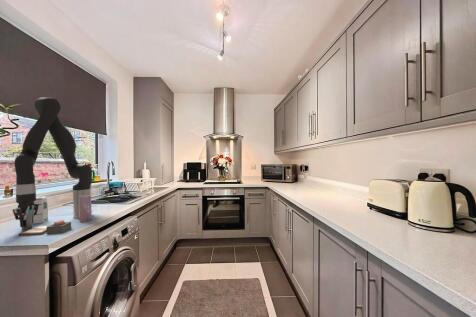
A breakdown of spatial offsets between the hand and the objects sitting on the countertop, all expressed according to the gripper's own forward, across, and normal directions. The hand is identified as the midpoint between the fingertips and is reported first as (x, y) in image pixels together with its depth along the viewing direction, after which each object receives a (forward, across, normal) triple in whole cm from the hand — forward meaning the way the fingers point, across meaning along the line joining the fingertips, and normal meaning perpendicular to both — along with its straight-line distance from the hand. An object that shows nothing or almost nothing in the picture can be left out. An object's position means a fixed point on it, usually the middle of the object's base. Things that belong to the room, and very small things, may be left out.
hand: (26, 225), depth 114 cm
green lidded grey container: (+2, 0, 0) cm, 2 cm away
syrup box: (+2, -16, -5) cm, 17 cm away
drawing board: (+2, +4, +8) cm, 10 cm away
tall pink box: (+2, -12, +22) cm, 25 cm away
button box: (+2, +6, +19) cm, 20 cm away
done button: (-1, +6, +19) cm, 20 cm away
